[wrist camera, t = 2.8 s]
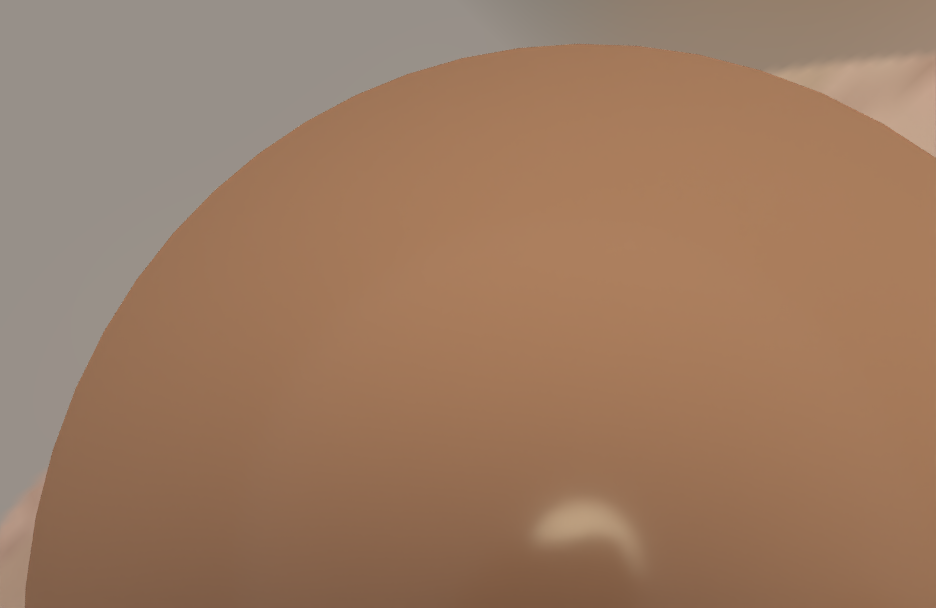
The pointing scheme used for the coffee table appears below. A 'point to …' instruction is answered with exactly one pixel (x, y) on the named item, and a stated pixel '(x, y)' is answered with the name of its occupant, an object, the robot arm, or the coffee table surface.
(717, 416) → the tan domed cylinder
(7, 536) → the coffee table surface
